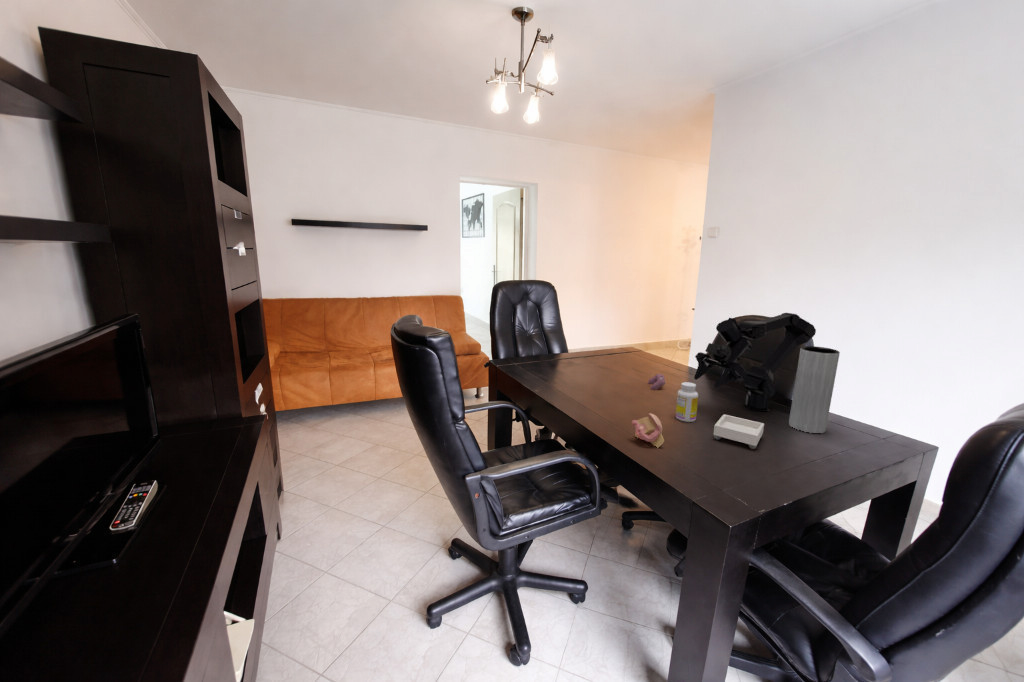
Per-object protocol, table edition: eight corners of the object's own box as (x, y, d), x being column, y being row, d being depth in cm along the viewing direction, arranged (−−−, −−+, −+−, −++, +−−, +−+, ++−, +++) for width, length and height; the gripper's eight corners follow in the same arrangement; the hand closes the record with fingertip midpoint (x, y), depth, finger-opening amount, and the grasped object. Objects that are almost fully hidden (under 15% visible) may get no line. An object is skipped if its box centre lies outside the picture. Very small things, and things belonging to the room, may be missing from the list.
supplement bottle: (694, 416, 142) (698, 382, 139) (696, 423, 136) (700, 388, 133) (674, 414, 144) (678, 380, 141) (675, 421, 138) (679, 386, 135)
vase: (792, 419, 139) (804, 344, 134) (827, 427, 132) (842, 349, 127) (785, 427, 133) (797, 349, 127) (822, 437, 126) (837, 354, 120)
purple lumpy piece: (659, 394, 169) (668, 380, 168) (650, 388, 170) (658, 375, 168) (656, 386, 179) (664, 373, 177) (647, 381, 179) (655, 369, 177)
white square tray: (722, 427, 133) (723, 414, 132) (762, 437, 125) (764, 423, 124) (712, 439, 124) (714, 425, 123) (755, 451, 117) (757, 436, 116)
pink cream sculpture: (636, 433, 130) (659, 415, 127) (653, 458, 123) (678, 441, 120) (623, 425, 124) (647, 407, 121) (640, 452, 117) (667, 433, 114)
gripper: (701, 330, 146) (674, 361, 145) (744, 340, 129) (714, 376, 128) (716, 350, 150) (689, 380, 149) (760, 362, 133) (730, 396, 132)
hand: (704, 382), depth 139 cm, fingers open, 9 cm apart
